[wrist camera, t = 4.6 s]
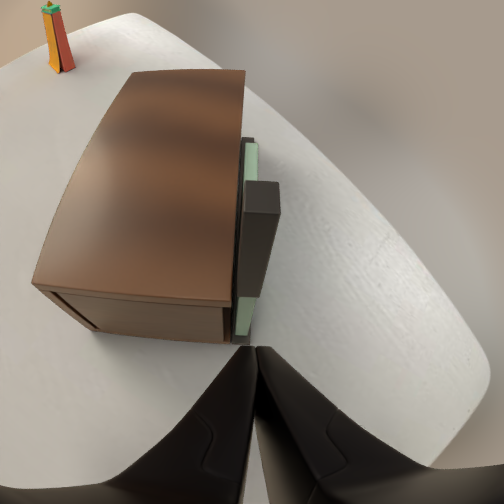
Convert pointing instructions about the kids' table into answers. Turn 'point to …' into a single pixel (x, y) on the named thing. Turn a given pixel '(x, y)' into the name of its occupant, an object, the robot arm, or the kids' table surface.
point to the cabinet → (154, 212)
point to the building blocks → (57, 38)
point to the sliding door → (254, 236)
